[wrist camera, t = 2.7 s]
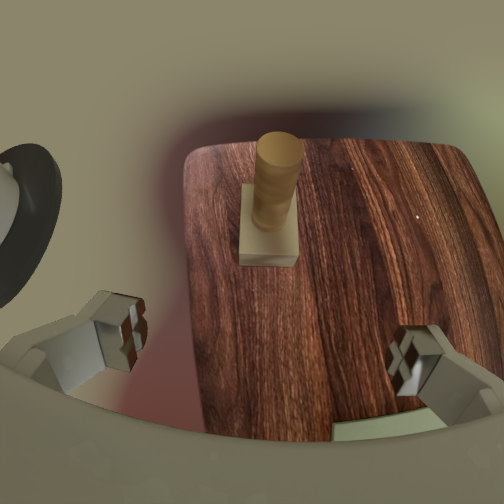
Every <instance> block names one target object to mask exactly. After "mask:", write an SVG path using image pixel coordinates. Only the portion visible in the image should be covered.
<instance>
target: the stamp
mask: <svg viewBox="0 0 504 504" xmlns="http://www.w3.org/2000/svg"><path fill="white" fill-rule="evenodd" d="M303 157H304V147H303V145H302V143H301V142H300V140H299V139H297V138H296V137H295V136H293V135H291V134H288V133H284V132H271V133H268V134H265V135H264V136H262V137H261V138H260V139H259V141H258V142H257V145H256V160H255V175H254V184H242V195H241V216H240V237H239V265H245V266H277V267H293V266H294V264H295V262H296V260H297V258H298V256H299V245H298V223H297V204H296V188H295V187H296V183H297V179H298V176H299V172H300V168H301V164H302V161H303Z"/></svg>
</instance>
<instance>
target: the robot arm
mask: <svg viewBox="0 0 504 504" xmlns="http://www.w3.org/2000/svg"><path fill="white" fill-rule="evenodd" d="M18 203H19V186H18V183H17V181H16V180H15V179H14V177H13V167H12V165H10V164H9V163H5V164H3V165H2V164H1V163H0V245H1V244H2V242H3V240H4V239H5V237H6V235H7V234H8V232H9V230H10V227H11V225H12V223H13V220H14V218H15V215H16V212H17V208H18ZM144 312H145V303H144V300H143V299H142V298H138V297H133V296H128V295H123V294H119V293H113V292H109V291H104V290H101V291H98V292H97V293H96V295H94V297H93V298H92V299H91V300H90V301H89V302H88V303H87V304H86V305H85V306H84V307H83V308H82V310H81V311H80V312H79V313H78V314H77V315H76V316H74V315H70V316H68V317H65V318H63V319H60V320H57V321H54V322H52V323H49V324H46V325H44V326H41V327H39V328H36V329H33V330H30V331H28V332H25V333H22V334H20V335H17V336H14V337H13V338H12V339H11V340H10V341H9V342H8V343H7V344H6V345H5V346H4V348H3V349H2V350H1V351H0V504H504V381H503V380H501V379H500V378H498V377H497V376H495V375H494V374H492V373H491V372H489V371H488V370H486V369H484V368H483V367H481V366H480V365H478V364H477V363H475V362H473V361H472V360H470V359H469V358H467V357H466V356H464V355H462V354H461V353H457V352H456V351H455V349H454V348H453V346H452V345H451V344H450V342H449V341H448V339H447V338H446V336H445V335H444V333H443V332H442V331H441V329H440V328H439V326H437V325H399V326H398V327H397V329H396V330H395V333H394V335H393V336H394V339H395V341H394V342H393V343H391V344H390V345H389V346H388V349H387V351H386V353H385V368H386V370H387V373H389V374H390V375H391V376H392V377H393V378H392V381H391V383H392V386H393V388H394V391H395V394H396V396H409V395H417V396H418V397H419V398H420V399H421V400H422V401H423V402H424V403H425V404H426V405H427V406H428V407H429V408H430V409H431V410H432V411H433V412H434V413H435V414H436V415H437V416H438V417H439V418H440V419H441V420H442V421H443V422H444V423H445V424H446V425H447V426H448V427H444V428H440V429H435V430H430V431H425V432H419V433H413V434H407V435H401V436H393V437H385V438H376V439H366V440H353V441H332V442H292V441H270V440H257V439H246V438H237V437H228V436H221V435H214V434H207V433H201V432H195V431H190V430H184V429H180V428H175V427H170V426H165V425H161V424H157V423H153V422H149V421H145V420H141V419H137V418H134V417H130V416H126V415H123V414H120V413H117V412H113V411H110V410H107V409H104V408H101V407H98V406H95V405H93V404H90V403H87V402H84V401H82V400H79V399H76V398H73V397H71V396H69V395H66V394H67V393H69V392H70V391H71V390H73V389H75V388H76V387H78V386H79V385H81V384H82V383H84V382H86V381H87V380H89V379H90V378H92V377H93V376H95V375H96V374H98V373H99V372H101V371H102V370H104V369H105V368H106V367H109V368H113V369H117V370H121V371H125V372H131V370H132V368H133V366H134V364H135V362H136V360H137V353H136V352H138V351H140V350H141V349H143V347H144V345H145V342H146V338H147V330H148V327H147V321H146V320H145V319H144V317H143V316H142V315H143V313H144Z"/></svg>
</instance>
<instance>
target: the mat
mask: <svg viewBox="0 0 504 504" xmlns="http://www.w3.org/2000/svg"><path fill="white" fill-rule="evenodd" d="M444 427H448V426H447V425H446V424H445V423H444V422H443V421H442V420H441V419H440V418H439V417H438V416H437V415H436V414H435V413H434V412H433V411H432V410H431V409H430V408H429V407H428V406H427V407H423V408H419V409H415V410H411V411H406V412H401V413H396V414H391V415H386V416H380V417H374V418H368V419H361V420H354V421H346V422H337V423H332V434H331V442H332V441H353V440H366V439H376V438H385V437H393V436H401V435H407V434H413V433H419V432H425V431H430V430H435V429H440V428H444Z"/></svg>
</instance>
